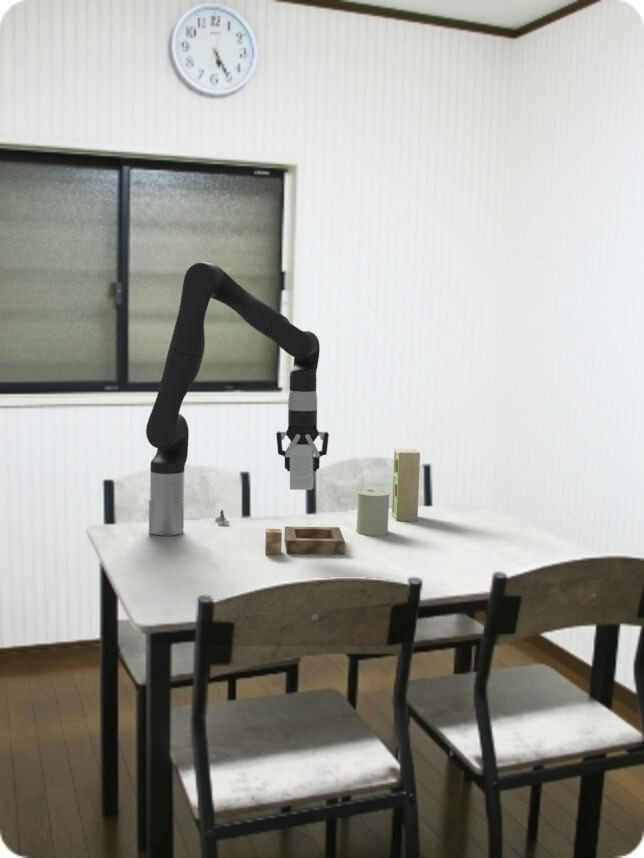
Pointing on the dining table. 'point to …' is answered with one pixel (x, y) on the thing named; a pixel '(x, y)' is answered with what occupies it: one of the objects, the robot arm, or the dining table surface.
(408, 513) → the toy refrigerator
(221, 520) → the grey spired figurine
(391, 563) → the dining table surface
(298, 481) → the skincare box
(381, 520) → the can
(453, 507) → the dining table surface
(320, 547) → the brown wooden square frame
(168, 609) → the dining table surface
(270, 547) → the short oak peg
